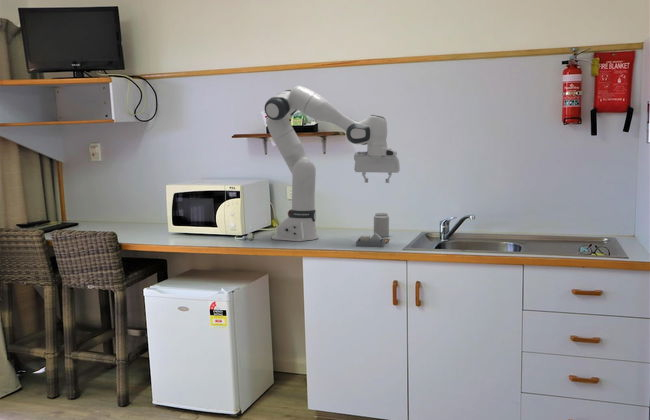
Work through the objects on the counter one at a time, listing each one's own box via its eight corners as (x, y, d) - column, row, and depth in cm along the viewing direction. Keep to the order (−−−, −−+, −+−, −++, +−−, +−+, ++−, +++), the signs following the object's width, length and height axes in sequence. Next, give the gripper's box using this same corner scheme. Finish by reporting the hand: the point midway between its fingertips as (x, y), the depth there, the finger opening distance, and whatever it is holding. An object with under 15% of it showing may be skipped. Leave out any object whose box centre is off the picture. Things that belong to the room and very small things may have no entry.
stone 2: (375, 246, 281) (368, 240, 282) (376, 244, 285) (369, 238, 285) (381, 239, 280) (374, 233, 281) (382, 238, 284) (375, 232, 285)
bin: (356, 247, 280) (356, 240, 280) (359, 244, 289) (359, 237, 289) (382, 248, 278) (382, 241, 278) (384, 245, 287) (384, 238, 286)
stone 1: (359, 245, 282) (360, 236, 282) (361, 244, 286) (361, 235, 286) (368, 245, 282) (368, 237, 281) (369, 244, 285) (369, 235, 285)
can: (387, 238, 304) (388, 214, 303) (372, 238, 305) (372, 214, 304) (389, 236, 311) (389, 212, 310) (374, 235, 313) (374, 212, 311)
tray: (357, 243, 291) (357, 241, 291) (360, 239, 301) (360, 237, 301) (387, 244, 288) (387, 242, 288) (389, 240, 299) (389, 238, 298)
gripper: (353, 151, 277) (352, 182, 278) (399, 152, 273) (398, 183, 274) (355, 151, 283) (354, 181, 285) (400, 151, 279) (399, 182, 281)
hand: (376, 182), depth 279 cm, fingers open, 8 cm apart
